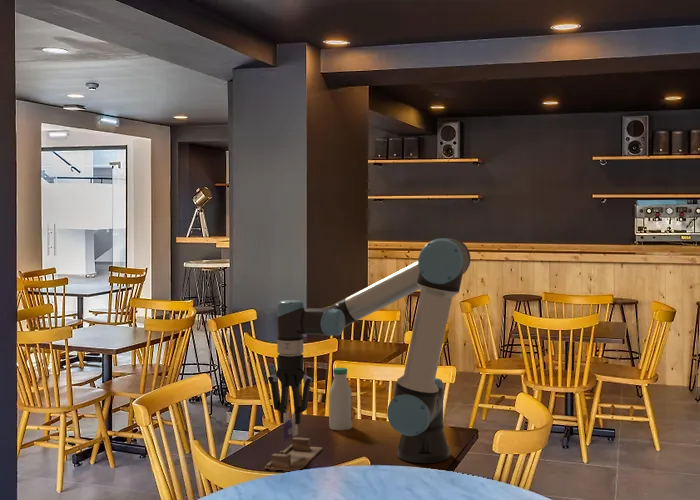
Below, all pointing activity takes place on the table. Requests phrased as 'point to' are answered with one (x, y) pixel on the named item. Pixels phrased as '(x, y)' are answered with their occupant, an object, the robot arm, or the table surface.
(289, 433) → the snack package
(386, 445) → the table surface
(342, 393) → the milk bottle
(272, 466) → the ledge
